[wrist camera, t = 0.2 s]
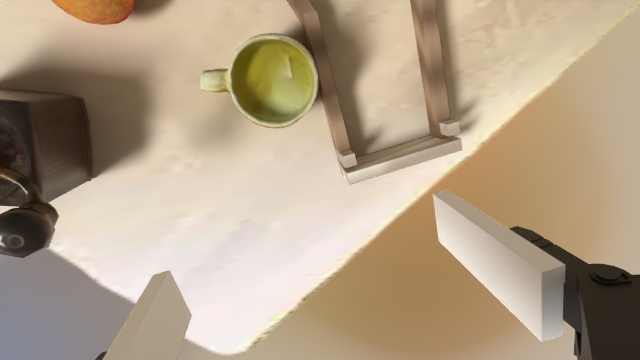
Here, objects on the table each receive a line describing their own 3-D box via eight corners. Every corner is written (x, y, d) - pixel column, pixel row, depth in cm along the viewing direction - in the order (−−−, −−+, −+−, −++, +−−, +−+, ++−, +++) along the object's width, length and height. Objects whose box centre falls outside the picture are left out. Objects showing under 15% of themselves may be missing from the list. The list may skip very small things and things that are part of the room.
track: (276, -19, 35) (276, -34, 31) (427, -61, 36) (450, -82, 32) (330, 176, 44) (337, 188, 39) (453, 139, 44) (474, 146, 40)
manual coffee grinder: (-2, 179, 38) (-225, 262, 21) (-20, 84, 35) (-301, 90, 18) (138, 188, 40) (40, 267, 23) (133, 100, 37) (17, 119, 20)
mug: (334, 35, 36) (325, 53, 28) (315, 115, 42) (303, 150, 34) (231, 8, 36) (191, 18, 28) (227, 93, 42) (192, 122, 34)
